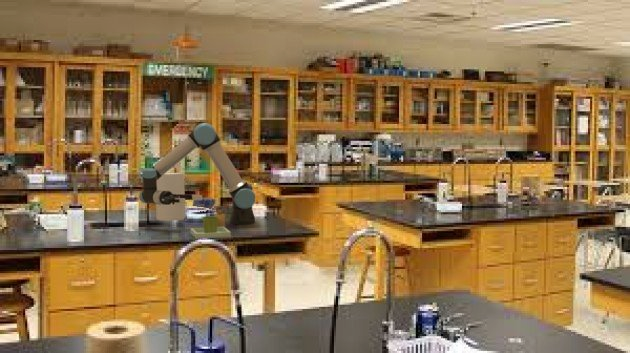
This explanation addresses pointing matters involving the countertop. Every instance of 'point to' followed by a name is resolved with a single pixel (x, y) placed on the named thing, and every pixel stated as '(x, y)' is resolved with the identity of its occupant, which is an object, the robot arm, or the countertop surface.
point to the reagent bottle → (222, 217)
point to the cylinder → (175, 186)
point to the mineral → (204, 203)
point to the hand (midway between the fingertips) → (193, 199)
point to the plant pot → (210, 224)
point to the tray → (200, 233)
